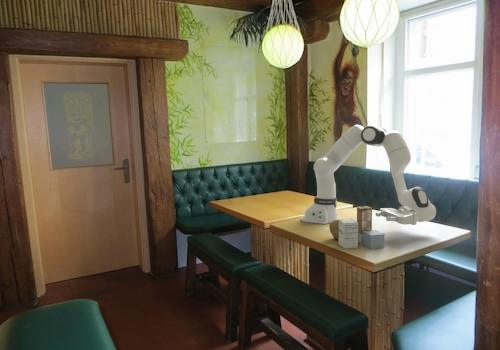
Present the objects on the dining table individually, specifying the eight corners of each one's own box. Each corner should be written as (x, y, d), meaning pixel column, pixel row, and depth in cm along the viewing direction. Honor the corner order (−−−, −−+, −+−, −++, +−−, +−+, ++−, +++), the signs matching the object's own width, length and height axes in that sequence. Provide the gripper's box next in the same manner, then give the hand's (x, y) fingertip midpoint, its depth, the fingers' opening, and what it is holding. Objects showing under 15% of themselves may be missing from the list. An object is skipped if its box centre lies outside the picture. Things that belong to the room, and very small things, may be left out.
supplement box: (338, 243, 189) (338, 218, 187) (352, 243, 189) (353, 218, 188) (343, 248, 181) (343, 222, 180) (358, 248, 182) (358, 222, 180)
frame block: (367, 231, 195) (367, 206, 193) (371, 233, 191) (372, 207, 189) (356, 232, 193) (356, 207, 192) (360, 234, 190) (361, 208, 188)
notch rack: (366, 237, 197) (366, 225, 196) (384, 247, 182) (384, 234, 181) (354, 239, 196) (354, 226, 195) (370, 248, 180) (370, 235, 179)
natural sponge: (345, 236, 201) (345, 217, 200) (349, 241, 192) (349, 222, 191) (328, 236, 201) (328, 217, 200) (330, 241, 193) (331, 222, 191)
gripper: (393, 204, 206) (370, 206, 203) (418, 213, 186) (393, 215, 183) (393, 215, 207) (370, 217, 204) (418, 225, 187) (393, 228, 184)
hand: (381, 216), depth 193 cm, fingers open, 8 cm apart
